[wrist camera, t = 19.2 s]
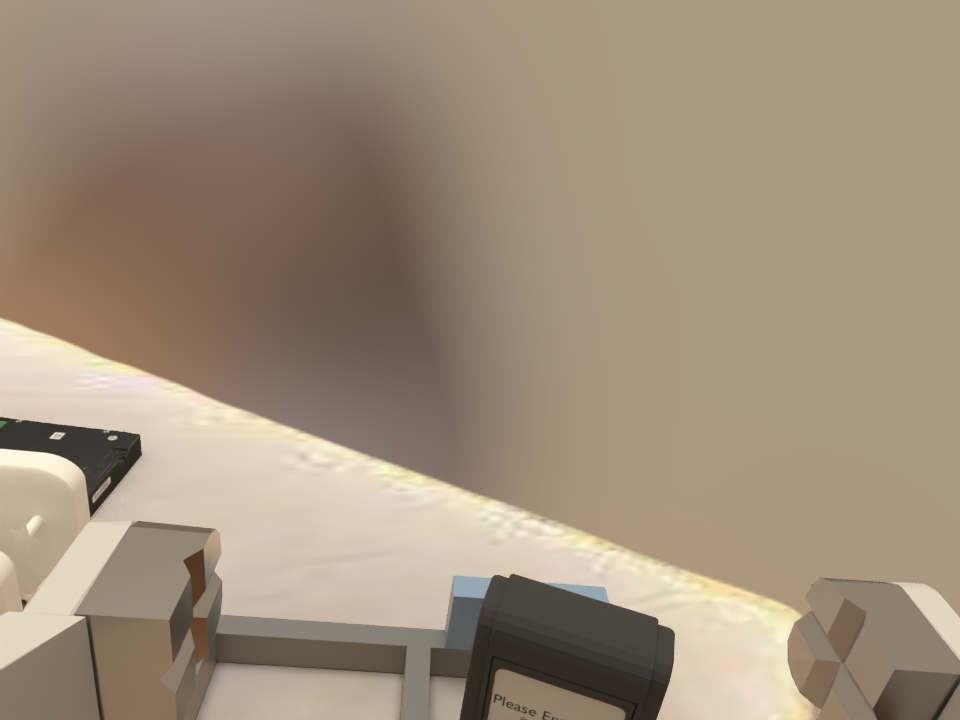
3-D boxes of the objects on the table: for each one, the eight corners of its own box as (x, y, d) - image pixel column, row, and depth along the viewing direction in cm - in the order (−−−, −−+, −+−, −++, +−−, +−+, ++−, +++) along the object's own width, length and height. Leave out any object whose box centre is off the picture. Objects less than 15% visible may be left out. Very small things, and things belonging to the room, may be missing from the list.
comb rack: (102, 884, 33) (86, 790, 30) (201, 637, 47) (197, 555, 44) (681, 904, 36) (719, 819, 33) (618, 665, 49) (641, 590, 46)
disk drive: (143, 458, 64) (-24, 438, 63) (142, 432, 63) (-29, 411, 62) (87, 531, 55) (-112, 509, 54) (84, 502, 54) (-119, 479, 53)
